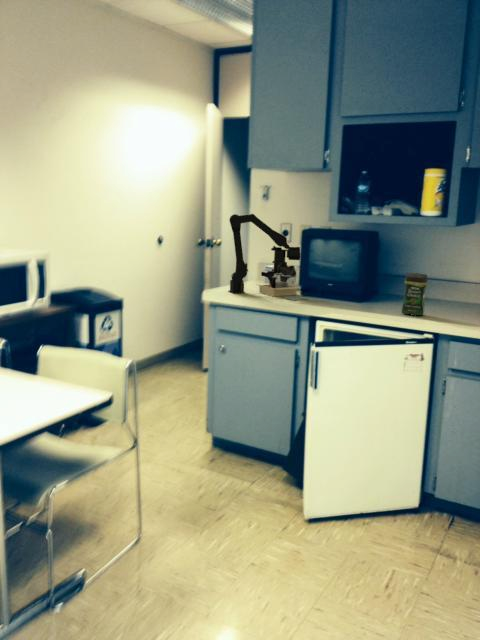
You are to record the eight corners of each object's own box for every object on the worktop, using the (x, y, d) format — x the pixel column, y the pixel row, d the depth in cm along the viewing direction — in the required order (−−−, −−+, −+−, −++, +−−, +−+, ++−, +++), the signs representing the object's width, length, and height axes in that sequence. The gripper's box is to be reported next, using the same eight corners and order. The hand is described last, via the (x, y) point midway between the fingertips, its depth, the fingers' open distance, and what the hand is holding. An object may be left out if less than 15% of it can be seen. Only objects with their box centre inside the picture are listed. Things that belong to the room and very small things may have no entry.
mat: (293, 300, 301) (293, 299, 301) (281, 297, 308) (282, 296, 308) (309, 299, 307) (309, 298, 307) (297, 296, 314) (297, 295, 314)
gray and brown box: (279, 295, 315) (279, 283, 314) (268, 292, 323) (269, 280, 321) (287, 294, 318) (287, 282, 317) (276, 291, 326) (277, 280, 324)
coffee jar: (399, 314, 276) (403, 273, 272) (403, 312, 283) (407, 271, 279) (421, 317, 271) (426, 275, 268) (425, 314, 278) (429, 273, 275)
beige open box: (277, 297, 309) (277, 289, 308) (255, 291, 324) (256, 284, 323) (300, 295, 317) (300, 287, 317) (278, 290, 332) (279, 282, 331)
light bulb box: (276, 283, 359) (277, 264, 357) (285, 284, 355) (286, 265, 353) (263, 284, 352) (264, 265, 350) (272, 286, 347) (273, 266, 345)
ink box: (278, 287, 341) (280, 266, 339) (280, 286, 346) (282, 265, 343) (294, 289, 339) (295, 267, 336) (296, 287, 343) (297, 266, 341)
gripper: (274, 261, 305) (273, 293, 308) (303, 260, 316) (302, 291, 319) (261, 259, 314) (259, 289, 317) (290, 258, 325) (288, 288, 328)
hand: (278, 289), depth 320 cm, fingers closed on gray and brown box, 5 cm apart
